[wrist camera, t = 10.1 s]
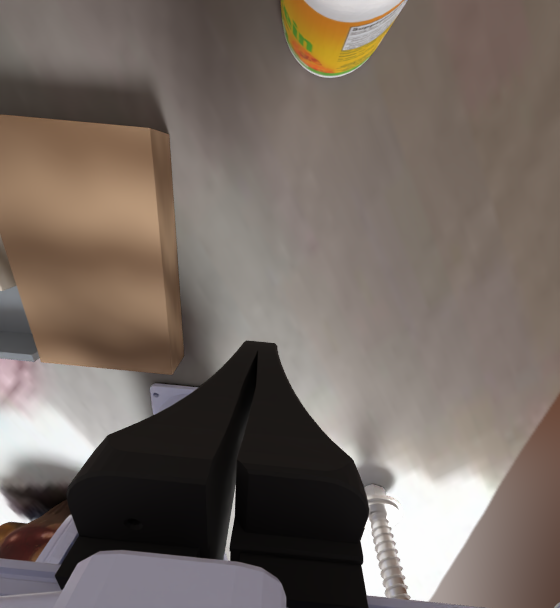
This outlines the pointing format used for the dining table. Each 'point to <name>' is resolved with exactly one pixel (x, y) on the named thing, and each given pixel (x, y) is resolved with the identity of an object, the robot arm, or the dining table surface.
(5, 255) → the wooden tile
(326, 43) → the supplement bottle
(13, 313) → the box
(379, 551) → the screw
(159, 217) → the wooden board
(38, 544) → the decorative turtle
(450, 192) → the dining table surface
